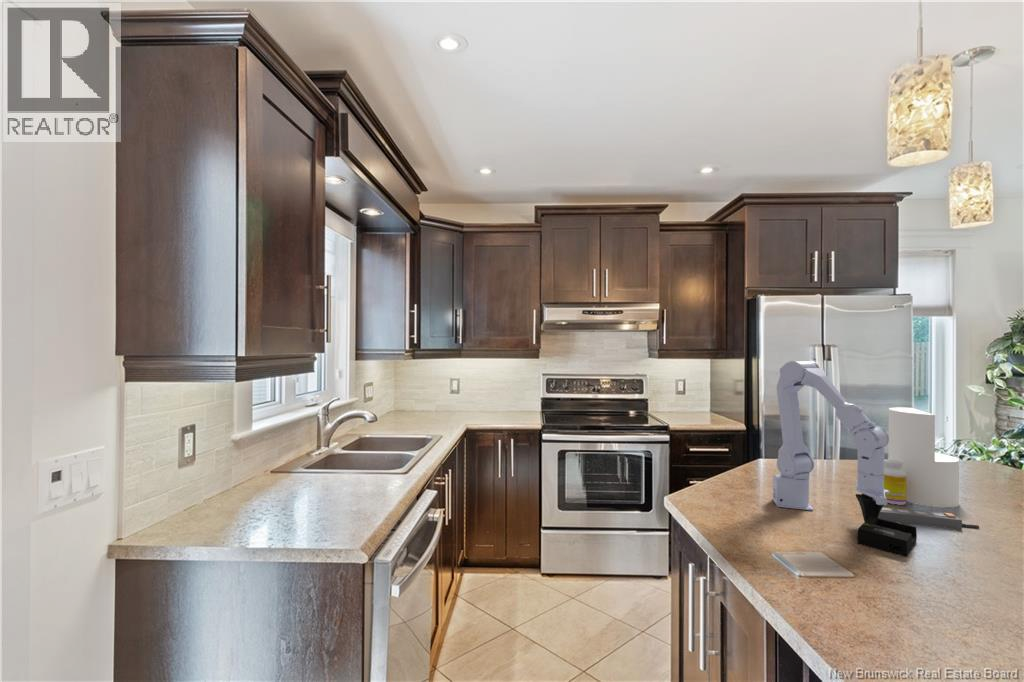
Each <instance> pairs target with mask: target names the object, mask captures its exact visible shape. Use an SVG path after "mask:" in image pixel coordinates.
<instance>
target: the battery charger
mask: <svg viewBox="0 0 1024 682" xmlns="http://www.w3.org/2000/svg"><path fill="white" fill-rule="evenodd" d="M917 533H918V532H917V527H916V526H913V525H911V524H906V523H898V522H892V521H888V520H884V519H879V518H875V517H871V516H870V517H869V518H868V519H867V520H866V521H865V522H863V523H862V524H861V525H860V526H859V527H858V528H857V536H856V538H857V539H856V540H857V545H860V544H862V545H861V546H863V545H865V546H864V547H867V546H868V547H867V548H871V547H872V549H874V548H875V549H874V550H878V551H882V552H886V553H890V554H893V555H898V556H900V557H905V558H907V557H908V556H909V555H910V552H911V551H912V549H913V548H914V547H915V545H916V544H917V537H918V535H917Z"/></svg>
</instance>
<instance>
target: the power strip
mask: <svg viewBox="0 0 1024 682" xmlns="http://www.w3.org/2000/svg"><path fill="white" fill-rule="evenodd" d="M878 518H879V519H884V520H888V521H892V522H897V523H898V522H899V523H901V524H906V525H917V526H924V527H925V526H927V527H935V526H936V527H937V528H944V527H946V528H945V529H953V528H954V530H963V528H970V529H971V528H973V529H979V528H980V526H979V525H978V524H970V523H968V524H967V523H963V519H961V518H959V517H958V516H956V515H955V514H953V513H950V512H940V511H939V512H937V511H929V510H918V509H908V508H900V507H899V508H897V507H888V506H883V507H882V509H881V511H880V513H879V516H878ZM936 527H935V528H936Z"/></svg>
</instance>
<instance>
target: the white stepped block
mask: <svg viewBox="0 0 1024 682" xmlns="http://www.w3.org/2000/svg"><path fill="white" fill-rule="evenodd" d="M887 435H888V437H889V442H888V444H887V445H888V446H887V447H888V450H887V451H888V452H887V459H889V460H897V461H900V462H902V467H901V469H902V470H903V471H904V472H905V473H906V501H909V502H908V503H910V502H912V503H911V504H915V503H916V504H915V505H920V506H925V505H926V506H925V507H927V506H928V507H932V506H933V507H934V508H943V507H951V508H957V507H959V505H960V458H958V457H956V456H952V455H948V454H945V453H939V452H936V415H935V414H933V413H930V412H927V411H923V410H920V409H917V408H914V407H889V408H888V433H887Z"/></svg>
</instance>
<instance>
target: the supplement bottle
mask: <svg viewBox="0 0 1024 682" xmlns="http://www.w3.org/2000/svg"><path fill="white" fill-rule="evenodd" d="M901 467H902V462H900V461H897V460H889V459H888V458H887V459H885V458H884V489H885V490H888V491H889V494H885V497H886V498H887V504H888V503H890V505H894V504H897V506H904V505H906V503H907V502H906V473H905V472H904V471H903V470H902V469H901Z"/></svg>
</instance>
